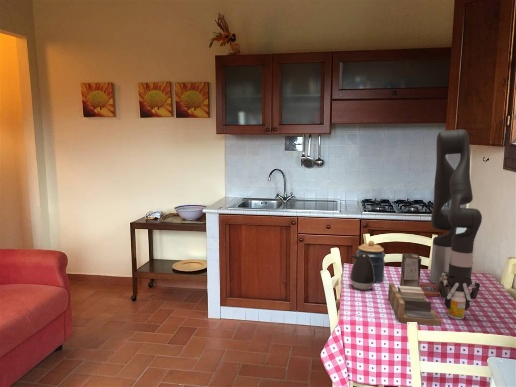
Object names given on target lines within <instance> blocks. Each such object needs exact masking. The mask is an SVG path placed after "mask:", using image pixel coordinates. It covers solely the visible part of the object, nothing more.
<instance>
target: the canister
mask: <svg viewBox="0 0 516 387" xmlns="http://www.w3.org/2000/svg"><path fill="white" fill-rule="evenodd" d="M357 248H358V249H357V250H356V251H355V253H356V256H358V255H359V254H361V253H366V254H368V255H369V257H370V259H371V261H372V264H373V268H374V275H375V281H374V282H373V283H381V282H383V281H384V278H385V263H386V261H385V257H386V253H385V252H384V250H385V249H384V247H382V246H381V245H380V244H375V241H374V240H369V241H368V243H363V244H361V245H359V246H358V247H357Z"/></svg>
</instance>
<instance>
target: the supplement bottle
mask: <svg viewBox="0 0 516 387" xmlns="http://www.w3.org/2000/svg"><path fill="white" fill-rule="evenodd" d="M450 299H451V302H450V309H447V310H448V311H447V316H448V317H450V318H452V319H456V320H461V319H464V317H465V312H466V310H465V303H466V299H465V296H464V292H461V291H455V292H454V293H453V294H452V296H451V297H450Z"/></svg>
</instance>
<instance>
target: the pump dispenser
mask: <svg viewBox="0 0 516 387" xmlns="http://www.w3.org/2000/svg"><path fill="white" fill-rule="evenodd" d="M350 257H352V258H353V259H354V261H353V264H352V266H351V269H350V275H349V280H350V282H351V285H352V286H353V287H354V288H355V289H358V290H362V291H366V290H369V289H371V288H372V287H373V285H374V283H375V282H374V281H375V275H374V268H373V264H372V261H371V259H370V257H369V255H368V254H366V253H361V254H359V255H358V256H357V255H355V254H351V255H350Z"/></svg>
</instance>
